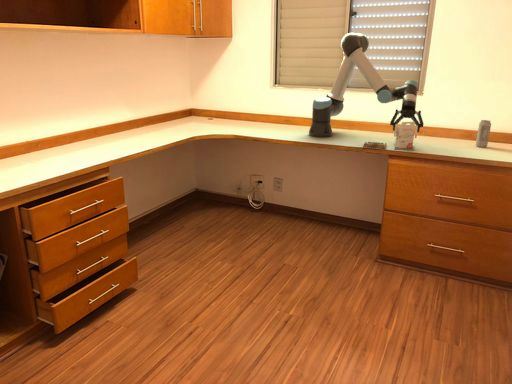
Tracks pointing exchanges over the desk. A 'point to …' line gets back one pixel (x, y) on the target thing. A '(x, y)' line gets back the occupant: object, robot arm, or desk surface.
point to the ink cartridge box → (405, 135)
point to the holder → (374, 145)
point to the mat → (404, 148)
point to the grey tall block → (483, 133)
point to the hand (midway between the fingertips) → (405, 135)
